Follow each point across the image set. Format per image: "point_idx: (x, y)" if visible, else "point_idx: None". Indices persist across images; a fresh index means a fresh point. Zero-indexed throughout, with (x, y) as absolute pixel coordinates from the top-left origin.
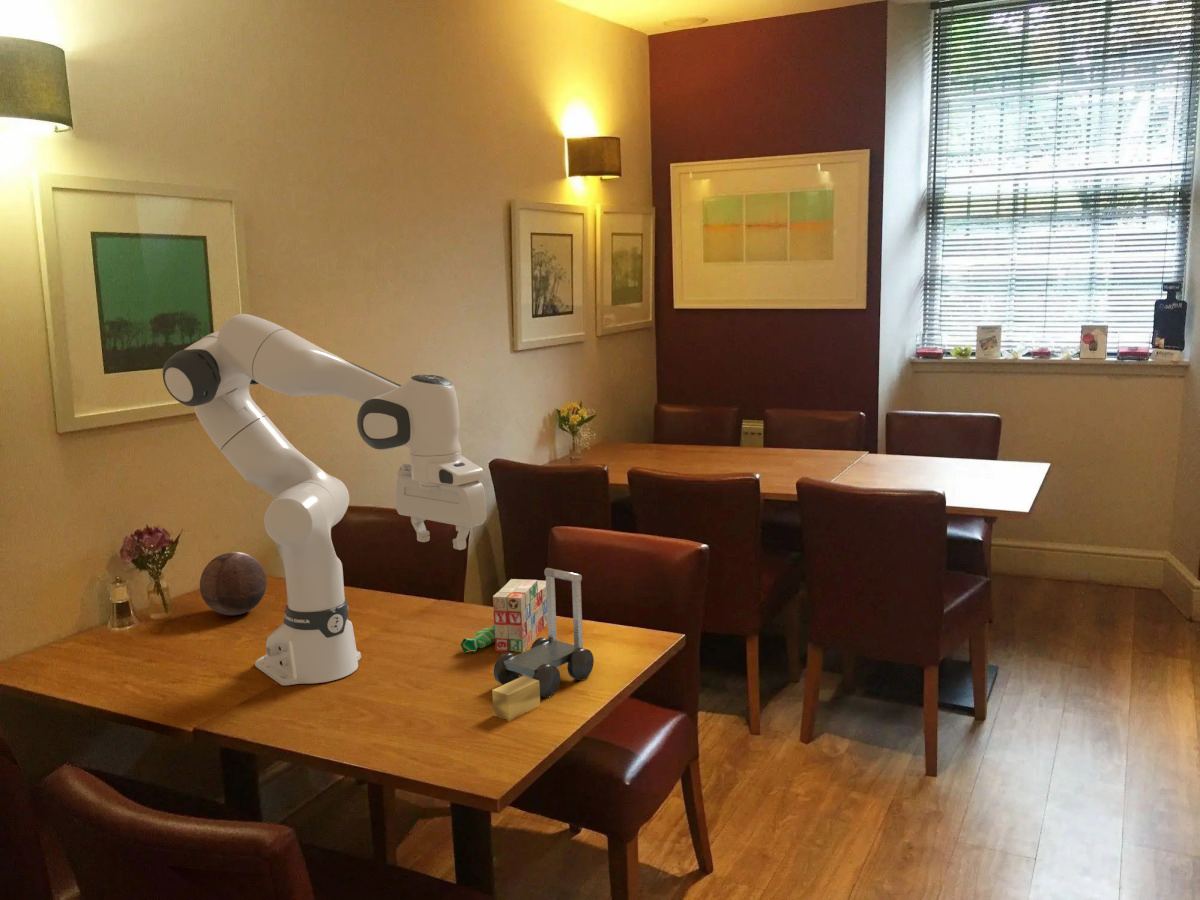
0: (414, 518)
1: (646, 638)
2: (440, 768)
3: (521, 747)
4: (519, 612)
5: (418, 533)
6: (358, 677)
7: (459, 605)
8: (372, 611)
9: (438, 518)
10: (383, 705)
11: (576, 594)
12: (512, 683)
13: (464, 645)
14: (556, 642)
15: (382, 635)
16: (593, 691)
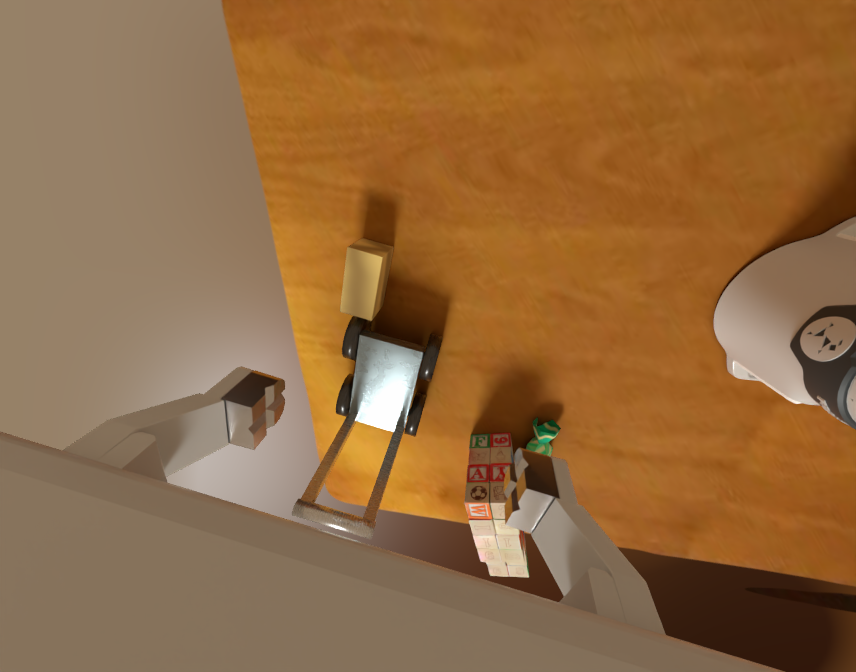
0: (617, 613)
1: (355, 489)
2: (354, 28)
3: (295, 164)
4: (469, 481)
5: (558, 492)
6: (695, 300)
7: (639, 546)
8: (786, 520)
9: (240, 540)
10: (588, 214)
11: (313, 479)
12: (368, 289)
13: (555, 430)
14: (391, 426)
15: (724, 449)
16: (322, 354)
